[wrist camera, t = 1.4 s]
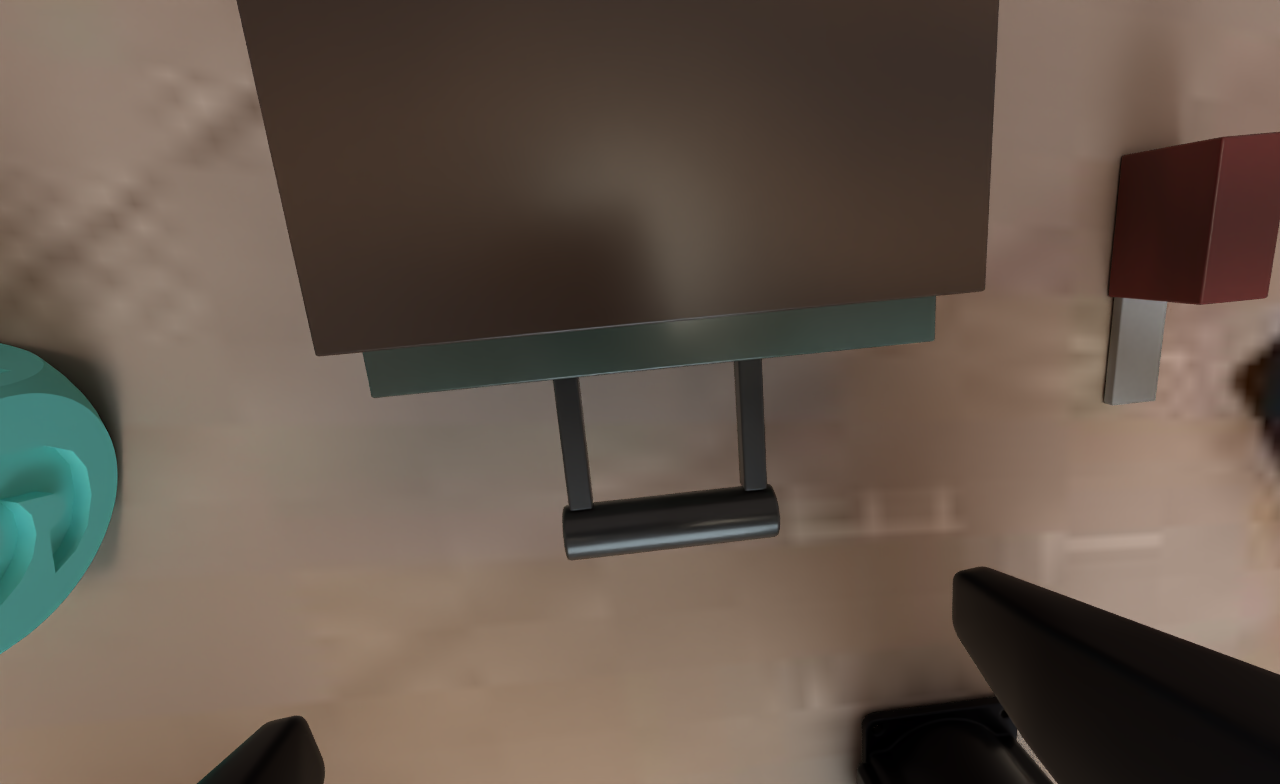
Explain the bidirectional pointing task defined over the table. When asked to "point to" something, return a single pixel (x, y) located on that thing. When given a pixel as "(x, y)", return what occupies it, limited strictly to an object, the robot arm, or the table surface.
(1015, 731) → the robot arm
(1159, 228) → the red usb flash drive
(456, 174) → the cabinet
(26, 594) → the decorative dice
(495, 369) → the drawer
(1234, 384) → the table surface
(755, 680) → the table surface
